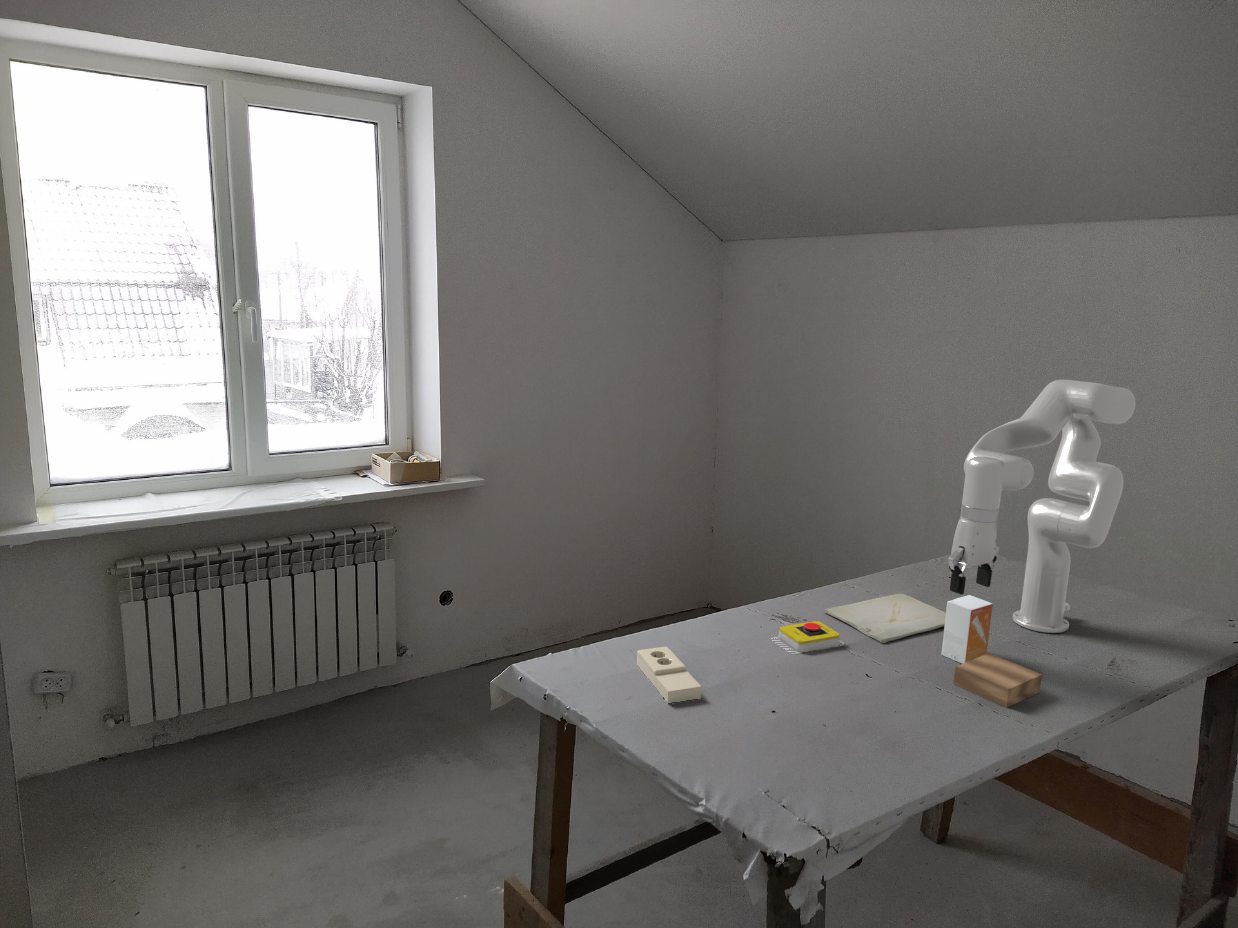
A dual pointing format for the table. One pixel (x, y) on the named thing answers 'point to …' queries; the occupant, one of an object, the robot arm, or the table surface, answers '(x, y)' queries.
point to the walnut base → (997, 679)
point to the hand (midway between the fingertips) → (969, 588)
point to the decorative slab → (890, 617)
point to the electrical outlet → (668, 674)
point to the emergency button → (808, 637)
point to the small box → (966, 628)
